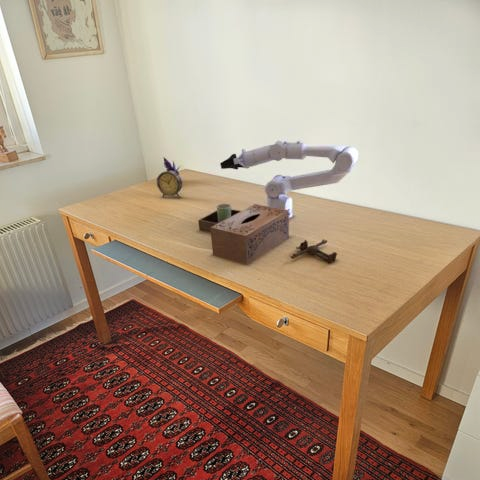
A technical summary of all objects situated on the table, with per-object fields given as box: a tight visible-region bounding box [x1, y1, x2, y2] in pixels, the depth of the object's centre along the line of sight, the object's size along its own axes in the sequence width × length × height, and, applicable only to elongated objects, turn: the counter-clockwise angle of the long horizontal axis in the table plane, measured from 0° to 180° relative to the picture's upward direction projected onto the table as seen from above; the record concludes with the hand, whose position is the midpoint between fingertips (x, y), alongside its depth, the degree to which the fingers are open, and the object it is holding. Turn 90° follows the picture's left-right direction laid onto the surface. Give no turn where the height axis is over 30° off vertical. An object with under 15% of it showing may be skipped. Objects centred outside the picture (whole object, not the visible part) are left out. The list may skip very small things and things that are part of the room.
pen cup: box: [216, 203, 232, 223], centre depth 169 cm, size 5×5×8 cm
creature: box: [156, 157, 181, 180], centre depth 222 cm, size 9×18×12 cm, turn 140°
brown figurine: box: [290, 238, 338, 264], centre depth 145 cm, size 18×4×14 cm
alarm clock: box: [156, 160, 183, 198], centre depth 202 cm, size 11×5×16 cm, turn 73°
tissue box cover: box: [210, 203, 290, 266], centre depth 153 cm, size 26×14×10 cm, turn 144°
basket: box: [197, 208, 242, 234], centre depth 170 cm, size 14×15×4 cm
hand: (225, 165), depth 174 cm, fingers open, 7 cm apart
